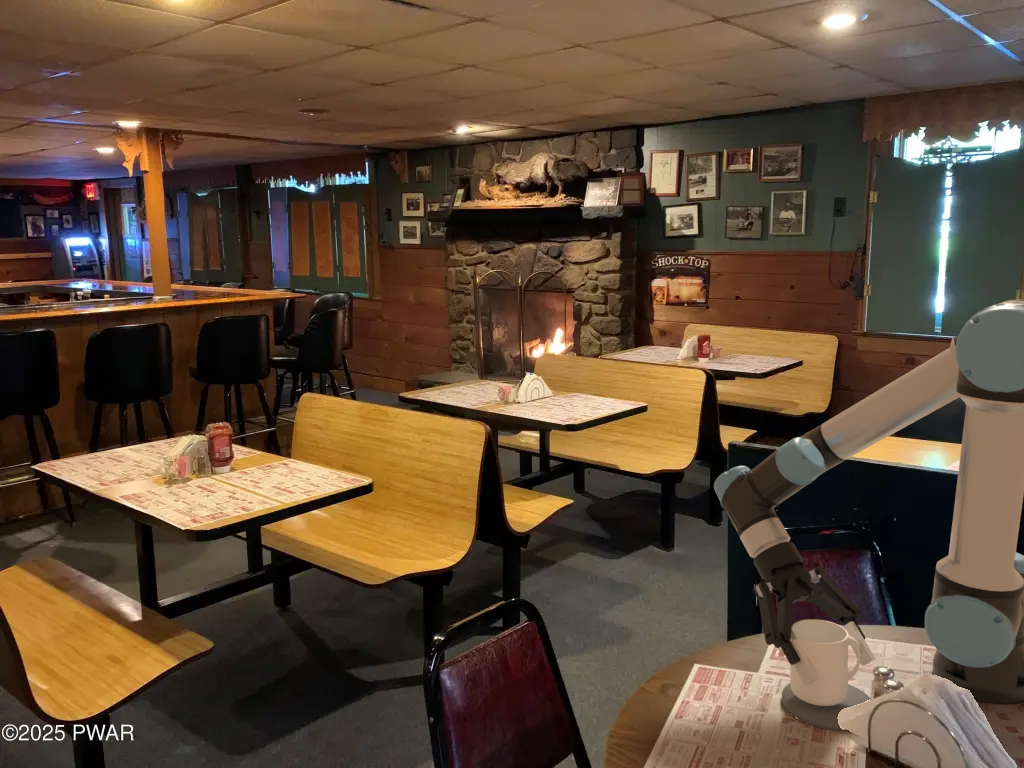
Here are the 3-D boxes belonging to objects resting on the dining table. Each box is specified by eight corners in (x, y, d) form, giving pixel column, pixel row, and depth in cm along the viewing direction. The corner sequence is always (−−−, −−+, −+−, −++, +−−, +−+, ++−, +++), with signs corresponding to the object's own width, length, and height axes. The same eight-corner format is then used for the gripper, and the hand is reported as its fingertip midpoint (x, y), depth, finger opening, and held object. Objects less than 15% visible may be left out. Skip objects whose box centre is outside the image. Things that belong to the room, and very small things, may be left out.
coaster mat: (870, 689, 136) (870, 684, 135) (878, 736, 123) (878, 730, 122) (782, 678, 140) (782, 673, 140) (780, 722, 127) (780, 716, 127)
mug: (877, 699, 128) (879, 636, 127) (809, 711, 126) (810, 646, 124) (844, 673, 136) (845, 613, 135) (780, 684, 134) (780, 623, 132)
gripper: (811, 547, 147) (880, 661, 136) (706, 574, 137) (770, 700, 126) (835, 527, 142) (908, 645, 130) (727, 553, 132) (796, 683, 120)
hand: (840, 672), depth 128 cm, fingers closed on mug, 12 cm apart
